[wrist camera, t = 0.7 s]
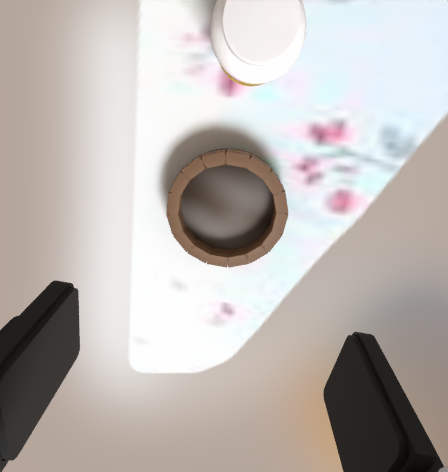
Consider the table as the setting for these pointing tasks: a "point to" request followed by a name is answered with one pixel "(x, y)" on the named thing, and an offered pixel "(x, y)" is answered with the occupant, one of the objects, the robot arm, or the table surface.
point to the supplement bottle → (257, 38)
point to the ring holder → (227, 208)
